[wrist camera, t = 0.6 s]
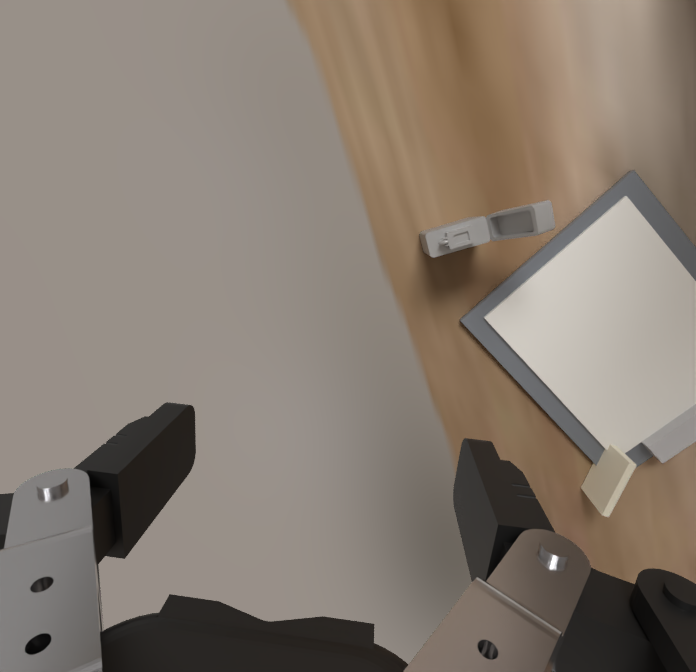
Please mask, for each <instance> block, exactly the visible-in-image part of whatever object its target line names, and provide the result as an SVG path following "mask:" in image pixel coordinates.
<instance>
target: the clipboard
mask: <svg viewBox="0 0 696 672" xmlns="http://www.w3.org/2000/svg"><path fill="white" fill-rule="evenodd" d="M460 321H461V322H462V323H463V324H464V325H465V326H466V327H467V328H468V330H469V331H470V332H471V333H472V334H473V335H474V336H475V337H476V338H477V339H478V340H479V341H480V342H481V343H482V344H483V346H484V347H485V348H486V349H487V350H488V351H489V352H490V353H491V354H492V355H493V356H494V357H495V358H496V359H497V360H498V361H499V363H500V364H501V365H502V366H503V367H504V368H505V369H506V370H507V371H508V372H509V373H510V374H511V375H512V376H513V377H514V379H515V380H516V381H517V382H518V383H519V384H520V385H521V386H522V387H523V388H524V389H525V390H526V391H527V392H528V393H529V394H530V396H531V397H532V398H533V399H534V400H535V401H536V402H537V403H538V404H539V405H540V406H541V407H542V408H543V409H544V410H545V412H546V413H547V414H548V415H549V416H550V417H551V418H552V419H553V420H554V421H555V422H556V423H557V424H558V425H559V426H560V427H561V429H562V430H563V431H564V432H565V433H566V434H567V435H568V436H569V437H570V438H571V439H572V440H573V441H574V442H575V443H576V445H577V446H578V447H579V448H580V449H581V450H582V451H583V452H584V453H585V454H586V455H587V456H588V457H589V458H590V459H591V461H592V462H593V463H594V464H595V465H597V463H598V462H599V460H600V458H601V456H602V454H603V452H604V450H605V449H606V450H607V449H608V447H609V445H610V444H611V445H614V446H617V447H618V448H619V449H620V450H621V451H622V452H624V453H625V454H626V455H627V456H628V457H629V458H630V459H631V460H632V461H633V462H634V463H635V464H636V465H637V466H636V467H638V466H639V465H641V464H642V463H644V462H645V461H647V460H648V459H649V458H651V457H652V456H654V457H655V458H657V459H658V460H659V461H660V462H661V463H665V462H666V461H667V460H669V459H670V458H672V457H673V456H675V455H676V454H678V453H679V452H681V451H682V450H684V449H685V448H687V447H688V446H690V445H691V444H693V443H694V442H696V247H695V246H694V245H693V243H692V242H691V241H690V240H689V238H688V237H687V236H686V235H685V233H684V232H683V231H682V230H681V228H680V227H679V226H678V225H677V223H676V222H675V221H674V220H673V218H672V217H671V216H670V215H669V213H668V212H667V211H666V210H665V208H664V207H663V206H662V205H661V203H660V202H659V201H658V200H657V198H656V197H655V196H654V195H653V193H652V192H651V191H650V190H649V188H648V187H647V186H646V185H645V183H644V182H643V181H642V179H641V178H640V177H639V176H638V174H637V173H636V172H635V171H634V170H632V171H629V172H628V173H627V174H626V175H625V176H624V177H622V178H621V179H620V180H619V181H618V182H617V183H616V184H614V185H613V186H612V187H611V188H610V189H609V190H608V191H606V192H605V193H604V194H603V195H602V196H601V197H600V198H598V199H597V200H596V201H595V202H594V203H593V204H592V205H590V206H589V207H588V208H587V209H586V210H585V211H583V212H582V213H581V214H580V215H579V216H578V217H577V218H575V219H574V220H573V221H572V222H571V223H570V224H569V225H567V226H566V227H565V228H564V229H563V230H562V231H561V232H559V233H558V234H557V235H556V236H555V237H554V238H553V239H551V240H550V241H549V242H548V243H547V244H546V245H545V246H543V247H542V248H541V249H540V250H539V251H538V252H537V253H535V254H534V255H533V256H532V257H531V258H530V259H529V260H527V261H526V262H525V263H524V264H523V265H522V266H521V267H519V268H518V269H517V270H516V271H515V272H514V273H512V274H511V275H510V276H509V277H508V278H507V279H506V280H504V281H503V282H502V283H501V284H500V285H499V286H498V287H496V288H495V289H494V290H493V291H492V292H491V293H490V294H488V295H487V296H486V297H485V298H484V299H483V300H482V301H480V302H479V303H478V304H477V305H476V306H475V307H474V308H472V309H471V310H470V311H469V312H468V313H467V314H466V315H464V316H463V317H462V318H461V319H460Z"/></svg>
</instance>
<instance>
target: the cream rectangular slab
mask: <svg viewBox="0 0 696 672" xmlns="http://www.w3.org/2000/svg"><path fill="white" fill-rule="evenodd" d="M636 466H637V465H636V464H635V463H634V462H633V461H632V460H631V459H630V458H629V457H628V456H627V455H626V454H625V453H624V452H622V451H621V450H620V449H619V448H618V447H617V446H614V445H611V444H610V445H609V447H608V449H607V450H606V449H605V450H604V452H603V454H602V456H601V458H600V460H599V462H598V463H597V465H595V464H594V463H593V464H592V466H591V468H590V470H589V472H588V474H587V476H586V478H585V480H584V482H583V484H582V486H581V489H582V490H583V491H584V493H585V494H586V495H587V497H588V498H589V499H590V501H591V502H592V503H593V504H594V506H595V507H596V508H597V510H598V511H599V512H600V513H601V515H603V516H607V517H609V516H610V514H611V512H612V510H613V509H614V507H615V505H616V503H617V501H618V499H619V497H620V496H621V494H622V492H623V490H624V488H625V486H626V484H627V482H628V481H629V479H630V477H631V475H632V473H633V471H634V469H635V468H636Z"/></svg>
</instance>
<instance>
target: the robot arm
mask: <svg viewBox="0 0 696 672" xmlns="http://www.w3.org/2000/svg"><path fill="white" fill-rule="evenodd" d="M195 453H196V445H195V411H194V408H193V406H191V405H185V404H176V403H165V404H163V405H162V406H161V407H160V408H159V409H157V410H156V411H155V412H154V413H153V414H152V415H150V416H149V417H143V418H141V419H138V420H136V421H134V422H132V423H130V424H128V425H126V426H125V427H124V428H123V429H122V430H120V431H119V432H118V433H117V434H116V436H113V437H112V438H111V439H109V440H108V441H107V443H106V444H103V445H102V446H101V447H99V448H98V449H97V450H96V451H95V452H93V453H92V454H91V455H90V456H89V457H87V458H86V459H85V460H84V461H83V462H81V463H80V464H79V465H77V466H76V467H75V468H74V469H57V470H52V471H48V472H45V473H42V474H39V475H37V476H34V477H32V478H30V479H29V480H27V481H25V482H24V483H23V484H21V485H20V486H19V487H18V488H17V489H16V491H15V492H14V493H10V494H0V672H696V584H694V583H693V582H691V581H689V580H688V579H686V578H684V577H682V576H679V575H677V574H675V573H672V572H669V571H665V570H661V569H645V570H643V571H641V572H640V573H639V574H638V577H637V580H636V583H635V584H632V583H629V582H627V581H624V580H621V579H618V578H616V577H613V576H610V575H607V574H605V573H602V572H600V571H597V570H595V569H593V568H591V565H590V562H589V560H588V558H587V556H586V555H585V554H584V552H583V551H582V550H581V549H580V548H579V547H578V546H577V545H576V544H574V543H573V542H572V541H570V540H569V539H567V538H565V537H563V536H561V535H559V534H557V533H555V531H554V529H553V528H552V526H551V524H550V522H549V520H548V518H547V516H546V515H545V513H544V511H543V509H542V507H541V505H540V503H539V502H538V500H537V499H536V496H535V494H534V492H533V490H532V489H531V488H530V485H529V483H528V481H527V479H526V477H525V476H524V474H523V472H521V471H520V470H519V469H518V468H517V467H516V466H515V465H514V464H512V463H511V462H510V461H505V460H500V458H499V456H498V454H497V452H496V450H495V448H494V445H493V443H492V442H491V441H484V440H475V439H467V438H465V439H464V440H463V442H462V445H461V451H460V456H459V461H458V467H457V472H456V478H455V483H454V492H453V500H454V509H455V512H456V517H457V521H458V525H459V529H460V534H461V538H462V542H463V546H464V550H465V555H466V559H467V563H468V567H469V571H470V575H471V580H472V583H471V584H470V586H469V587H468V588H467V589H466V591H465V592H464V593H463V595H462V596H461V597H460V599H459V600H458V601H457V603H456V604H455V605H454V606H453V608H452V609H451V610H450V611H449V613H448V614H447V615H446V617H445V618H444V619H443V621H442V622H441V623H440V624H439V626H438V627H437V628H436V630H435V631H434V632H433V634H432V635H431V636H430V637H429V639H428V640H427V641H426V643H425V644H424V645H423V647H422V648H421V649H420V651H419V652H418V653H417V654H416V656H415V657H414V658H413V660H412V661H411V662H410V664H409V665H408V664H407V663H406V662H405V661H403V660H402V659H401V658H399V657H398V656H397V655H395V654H394V653H392V652H390V651H388V650H387V649H385V648H383V647H381V646H379V645H377V644H374V624H371V623H364V622H357V621H350V620H343V619H336V618H329V617H315V618H304V619H294V620H284V621H274V622H268V621H263V620H260V619H258V618H256V617H254V616H251V615H249V614H247V613H244V612H242V611H240V610H237V609H235V608H233V607H230V606H228V605H226V604H223V603H221V602H219V601H212V600H205V599H198V598H191V597H184V596H177V595H169V597H168V599H167V600H166V602H165V604H164V606H163V607H162V609H161V611H160V613H152V614H148V615H144V616H139V617H136V618H132V619H129V620H126V621H124V622H121V623H119V624H117V625H114V626H112V627H110V628H108V629H106V630H104V627H103V615H102V603H101V590H100V578H99V568H98V564H99V562H100V561H101V560H102V559H103V558H104V557H105V556H110V557H117V558H124V559H125V557H126V556H127V555H128V554H129V552H130V551H131V549H132V548H133V547H134V545H135V544H136V543H137V542H138V540H139V539H140V538H141V536H142V535H143V534H144V532H145V531H146V530H147V528H148V527H149V526H150V524H151V523H152V522H153V520H154V519H155V518H156V516H157V515H158V514H159V512H160V511H161V510H162V509H163V507H164V506H165V505H166V503H167V502H168V501H169V499H170V498H171V497H172V495H173V494H174V493H175V491H176V490H177V489H178V487H179V486H180V485H181V483H182V482H183V481H184V479H185V478H186V477H187V475H188V474H189V473H190V471H191V469H192V466H193V464H194V459H195Z"/></svg>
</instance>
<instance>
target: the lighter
mask: <svg viewBox="0 0 696 672" xmlns="http://www.w3.org/2000/svg"><path fill="white" fill-rule="evenodd" d="M554 228H555V221H554V215H553V209H552V203H551V202H550V201H549V200H546V201H542V202H537V203H533V204H528V205H524V206H519V207H515V208H510V209H506V210H502V211H499V212H496V213H493V214H490V215H487V217H486V218H485V217H484V216H480V217H468V218H465V219H461V220H458V221H455V222H451V223H448V224H445V225H441V226H438V227H434V228H431V229H428V230H424V231H421V232H420V234H419V236H420V240H421V244H422V248H423V252H424V253H426V254H428V255H429V256H431V257H433V258H434V257H438V256H441V255H445V254H448V253H452V252H455V251H459V250H462V249H466V248H469V247H473V246H476V245H480V244H483V243H487V242H489V241H490V239H491V240H492V241H497V240H505V239H513V238H521V237H528V236H536V235H539V234H542V233H545V232H548V231H550V230H553V229H554Z"/></svg>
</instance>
